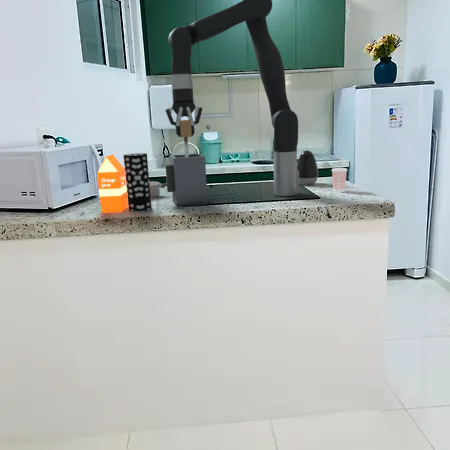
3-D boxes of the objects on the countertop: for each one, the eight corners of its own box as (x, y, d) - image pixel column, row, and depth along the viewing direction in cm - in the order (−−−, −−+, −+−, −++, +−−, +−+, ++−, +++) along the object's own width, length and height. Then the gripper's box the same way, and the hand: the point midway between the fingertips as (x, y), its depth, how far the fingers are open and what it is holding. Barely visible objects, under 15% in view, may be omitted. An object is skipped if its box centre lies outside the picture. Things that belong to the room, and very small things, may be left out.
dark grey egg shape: (295, 186, 196) (294, 151, 192) (295, 182, 206) (295, 149, 202) (318, 186, 194) (319, 151, 190) (317, 182, 204) (318, 148, 200)
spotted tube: (141, 212, 158) (135, 155, 153) (124, 210, 163) (118, 155, 158) (156, 207, 165) (151, 153, 160) (139, 205, 170) (134, 153, 165)
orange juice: (101, 212, 161) (94, 157, 156) (108, 207, 169) (102, 154, 164) (122, 212, 160) (116, 156, 155) (128, 206, 169) (123, 153, 164)
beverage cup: (329, 191, 180) (329, 157, 177) (334, 189, 185) (334, 155, 182) (344, 192, 177) (345, 157, 173) (348, 190, 182) (349, 155, 178)
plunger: (198, 184, 175) (194, 119, 168) (202, 187, 166) (198, 119, 160) (175, 185, 173) (170, 120, 166) (178, 189, 164) (173, 120, 158)
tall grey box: (201, 198, 178) (199, 153, 173) (207, 204, 167) (204, 156, 162) (166, 202, 175) (163, 155, 170) (170, 207, 164) (166, 158, 159)
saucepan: (181, 197, 184) (180, 183, 183) (132, 200, 182) (131, 186, 180) (180, 192, 195) (179, 179, 194) (134, 195, 193) (132, 182, 191)
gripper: (200, 88, 165) (202, 135, 170) (161, 89, 162) (165, 137, 167) (203, 86, 158) (206, 135, 163) (163, 88, 155) (167, 137, 160)
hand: (185, 136), depth 165 cm, fingers closed on plunger, 4 cm apart
